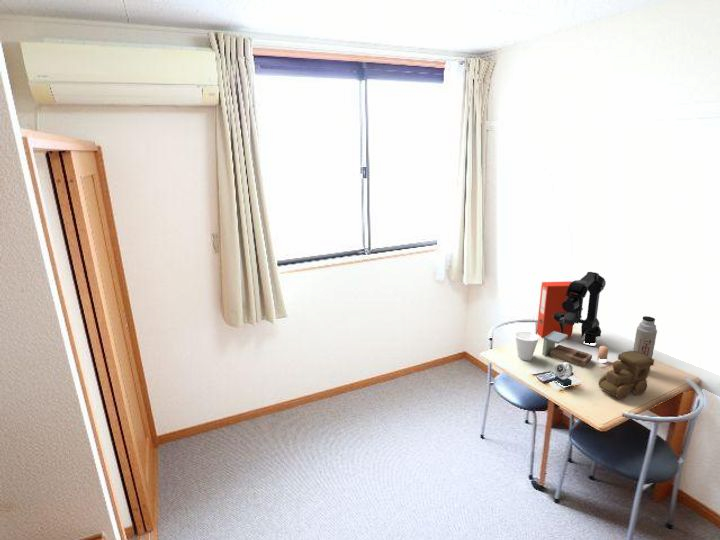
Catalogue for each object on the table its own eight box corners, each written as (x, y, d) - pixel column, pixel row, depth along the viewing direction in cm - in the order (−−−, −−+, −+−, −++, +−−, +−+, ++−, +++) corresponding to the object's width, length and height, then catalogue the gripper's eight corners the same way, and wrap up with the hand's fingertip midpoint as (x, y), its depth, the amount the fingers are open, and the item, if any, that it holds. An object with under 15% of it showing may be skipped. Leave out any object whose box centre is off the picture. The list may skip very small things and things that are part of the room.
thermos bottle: (647, 376, 198) (657, 322, 191) (628, 371, 204) (637, 318, 196) (650, 370, 204) (660, 317, 196) (631, 365, 209) (640, 313, 202)
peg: (599, 359, 216) (601, 345, 214) (607, 361, 213) (609, 347, 211) (596, 361, 213) (598, 347, 211) (604, 364, 210) (607, 350, 208)
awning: (551, 347, 230) (553, 331, 227) (565, 351, 224) (567, 335, 222) (542, 354, 222) (544, 337, 219) (556, 359, 216) (558, 342, 214)
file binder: (571, 337, 241) (578, 285, 232) (542, 338, 241) (547, 286, 232) (565, 331, 249) (571, 281, 240) (536, 332, 249) (541, 281, 240)
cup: (530, 351, 226) (532, 330, 222) (540, 362, 214) (543, 340, 211) (509, 352, 225) (511, 331, 222) (518, 363, 214) (520, 341, 211)
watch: (551, 383, 195) (553, 362, 192) (564, 379, 197) (567, 359, 194) (560, 389, 190) (563, 367, 187) (574, 385, 192) (576, 364, 189)
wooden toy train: (627, 380, 195) (632, 348, 191) (650, 393, 185) (656, 360, 180) (594, 389, 189) (599, 356, 185) (616, 402, 179) (622, 368, 174)
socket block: (558, 350, 226) (558, 344, 225) (591, 360, 214) (592, 354, 213) (550, 356, 220) (550, 350, 219) (583, 367, 208) (584, 361, 207)
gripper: (549, 306, 208) (546, 334, 212) (589, 315, 194) (585, 346, 199) (559, 300, 215) (556, 328, 219) (598, 309, 202) (594, 339, 206)
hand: (572, 335), depth 210 cm, fingers open, 9 cm apart
